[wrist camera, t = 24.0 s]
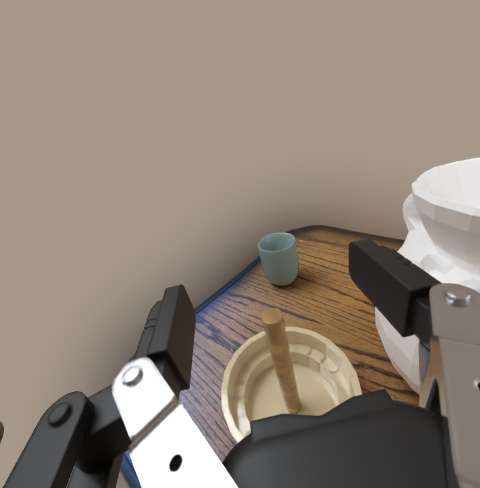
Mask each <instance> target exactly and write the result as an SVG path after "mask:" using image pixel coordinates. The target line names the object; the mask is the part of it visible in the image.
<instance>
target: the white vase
mask: <svg viewBox="0 0 480 488" xmlns="http://www.w3.org/2000/svg"><path fill="white" fill-rule="evenodd" d="M412 192H413V193H412V194H410V195H409V196H408V197H407V198H406V200H405V202H404V204H403V217H404V220H405V223H406V225H407V228H408V231H409V233H408V235H407V237H406V240H405V242H404V244H403V246H402V247H401V248H400V249H399V250H398V251H397V252H398V253H400V254H401V255H403V256H404V258H407V259H408V260H410V261H411V262H412V264H415V265H417V266H418V267H420V268H421V269H423V270H424V271H426V272H427V273H428V274H430V275H431V276H433V277H434V278H436V279H437V280H438V281H440V282H441V283H453V284H459V285H463V286H466V287H469V288H471V289H474V290H476V291H477V292H479V293H480V158H474V159H469V160H463V161H458V162H453V163H449V164H445V165H441V166H437V167H434V168H432V169H430V170H428V171H426V172H424V173H423V174H422V175H421V176H420V177H419V178H418V179H417V180H416V181H415V182H414V183H413V184H412ZM375 319H376V327H377V330H378V333H379V335H380V338H381V340H382V343H383V346H384V348H385V351H386V353H387V355H388V357H389V359H390V361H391V363H392V365H393V367H394V368H395V369H396V370H397V372H398V373H399V374H400V375H401V376H402V377H403V379H404V380H405V381H406V382H407V383H408V384H409V386H410V387H411V388H412V389H413V390H414V391H415V392H416V393H417V394H419V395H420V380H419V352H418V343H419V339H418V337H417V336H416V335H412V336H408V337H404V338H403V337H402V336H401V335H400V334H399V333H398V332H397V330H396V329H395V328H394V327H393V326H392V325H391V324H390V323H389V321H388V320H387V319H386V318H385V317H384V316H383V315H382V314H381V312H380V311H379V310H378V309H377V308H376V307H375Z"/></svg>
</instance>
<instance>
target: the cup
mask: <svg viewBox="0 0 480 488" xmlns="http://www.w3.org/2000/svg"><path fill="white" fill-rule="evenodd" d="M258 251H259V256H260V260H261V264H262V267H263V271H264V273H265V276H266V278H267V279H268V280H269V281H270V282H271V283H272V284H275V285H278V286H286V285H289V284H291V283H292V282H293V281H294V280H295V279H296V277H297V275H298V269H299V261H298V252H297V245H296V239H295V237H294V236H293V235H291V234H288V233H273V234H269V235H267V236H265V237H263V238H262V239H261V240H260V241H259V243H258Z"/></svg>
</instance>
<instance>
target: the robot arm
mask: <svg viewBox="0 0 480 488" xmlns="http://www.w3.org/2000/svg"><path fill="white" fill-rule="evenodd" d="M349 273H350V276H351V279H352V280H353V282H354V283H355V284H356V285H357V286H358V288H359V289H360V290H361V291H362V292H363V293H364V294H365V295H366V297H367V298H368V299H369V300H370V301H371V302H372V303H373V305H374V306H375V307H376V308H377V309H378V310H379V311H380V312H381V314H382V315H383V316H384V317H385V318H386V319H387V320H388V321H389V323H390V324H391V325H392V326H393V327H394V328H395V329H396V330H397V332H398V333H399V334H400V335H401V336H402V337H403V338H404V337H408V336H412V335H416V336H417V337H418V339H419V343H418V352H419V380H420V395H419V405H418V406H417V405H414V404H410V403H407V402H402V401H396V400H392V399H391V397H390V396H389V394H388V393H387V391H386V390H385V389H383V390H379V391H375V392H370V393H366V394H362V395H358V396H354V397H351V398H349V399H348V400H346V401H344V402H343V403H341V404H339V405H338V406H336V407H335V408H333V409H331V410H330V411H328V412H326V413H325V414H323V415H319V416H315V415H299V414H279V415H274V416H270V417H266V418H262V419H258V420H253V421H250V428H251V433H250V434H249V435H247V436H245V437H244V438H243V439H242V440H241V441H239V442H238V443H237V444H236V445H235V446H234V447H233V448H232V450H231V451H230V452H229V454H228V455H227V456H226V458H225V459H224V461H223V463H221V462H220V460H219V459H218V457H217V456H216V454H215V453H214V451H213V450H212V448H211V447H210V445H209V444H208V442H207V441H206V440H205V438H204V437H203V435H202V434H201V432H200V431H199V429H198V428H197V426H196V425H195V423H194V422H193V420H192V419H191V417H190V416H189V415H188V413H187V412H186V410H185V409H184V407H183V406H182V404H181V403H180V401H179V394H180V391H182V390H186V389H189V388H190V377H191V366H192V356H193V345H194V334H195V323H196V317H195V311H194V308H193V306H192V303H191V301H190V299H189V297H188V294H187V292H186V290H185V288H184V286H183V285H178V286H174V287H170V288H166V289H165V292H164V296H163V299H162V301H158V302H156V304H155V305H154V306H153V308H152V309H151V310H150V312H149V316H148V318H147V322H146V324H145V327H144V330H143V333H142V336H141V339H140V342H139V345H138V348H137V351H136V353H135V356H134V359H133V361H131V362H129V363H128V364H126V365H125V366H124V367H123V368H122V369H121V370H120V371H119V372H118V374H117V375H116V377H115V379H114V381H113V383H112V385H110V386H108V387H107V388H105V389H103V390H101V391H99V392H98V393H96V394H94V395H92V396H90V397H88V398H87V397H86V396H85V395H84V394H83V393H82V392H79V391H77V392H71V393H69V394H66V395H65V396H63V397H62V398H60V399H58V400H57V401H56V402H55V403H54V404H52V405H51V406H50V407H49V408H48V410H47V411H46V412H45V413H44V414H43V416H42V417H41V419H40V421H39V422H38V424H37V426H36V428H35V429H34V431H33V433H32V435H31V437H30V439H29V440H28V442H27V444H26V446H25V448H24V450H23V451H22V453H21V455H20V457H19V459H18V461H17V462H16V464H15V466H14V468H13V470H12V472H11V473H10V475H9V477H8V479H7V481H6V483H5V485H4V486H3V488H66V487H67V488H116V484H117V479H118V475H119V471H120V466H121V462H122V458H123V453H124V452H125V451H127V450H129V454H130V457H131V459H132V462H133V465H134V467H135V470H136V473H137V475H138V478H139V481H140V484H141V486H142V488H480V293H479V292H477V291H476V290H474V289H471V288H469V287H466V286H463V285H459V284H453V283H441V282H440V281H438V280H437V279H436V278H434V277H433V276H431V275H430V274H428V273H427V272H426V271H424V270H423V269H421V268H420V267H418V266H417V265H415V264H412V262H411V261H410V260H408V259H407V258H404V256H403V255H401V254H400V253H398V252H397V251H395V250H393V249H390V248H387V247H385V246H378V245H377V244H375V243H374V242H373V241H371V240H370V239H368V238H366V239H362V240H358V241H354V242H351V243H350V244H349ZM74 466H75V467H74ZM73 468H74V469H73ZM72 470H73V472H72ZM71 473H72V475H71ZM70 476H71V477H70ZM69 478H70V480H69ZM68 481H69V483H68ZM67 484H68V486H67Z"/></svg>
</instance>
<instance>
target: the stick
mask: <svg viewBox="0 0 480 488" xmlns="http://www.w3.org/2000/svg"><path fill="white" fill-rule="evenodd" d="M261 318H262V322H263V326H264V330H265V334H266V337H267V341H268V345H269V349H270V352H271V356H272V360H273V364H274V367H275V371H276V375H277V379H278V382H279V386H280V390H281V394H282V397H283V401H284V405H285V408H286V410H287V411H288V412H289V413H291V414H296V413H298V412H299V411H300V409H301V403H300V398H299V393H298V388H297V383H296V379H295V374H294V369H293V364H292V359H291V354H290V349H289V344H288V339H287V334H286V330H285V325H284V320H283V315H282V312H281V311H280V310H279V309H277V308H269V309H267V310H265V311H264V312H263V313H262V316H261Z"/></svg>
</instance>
